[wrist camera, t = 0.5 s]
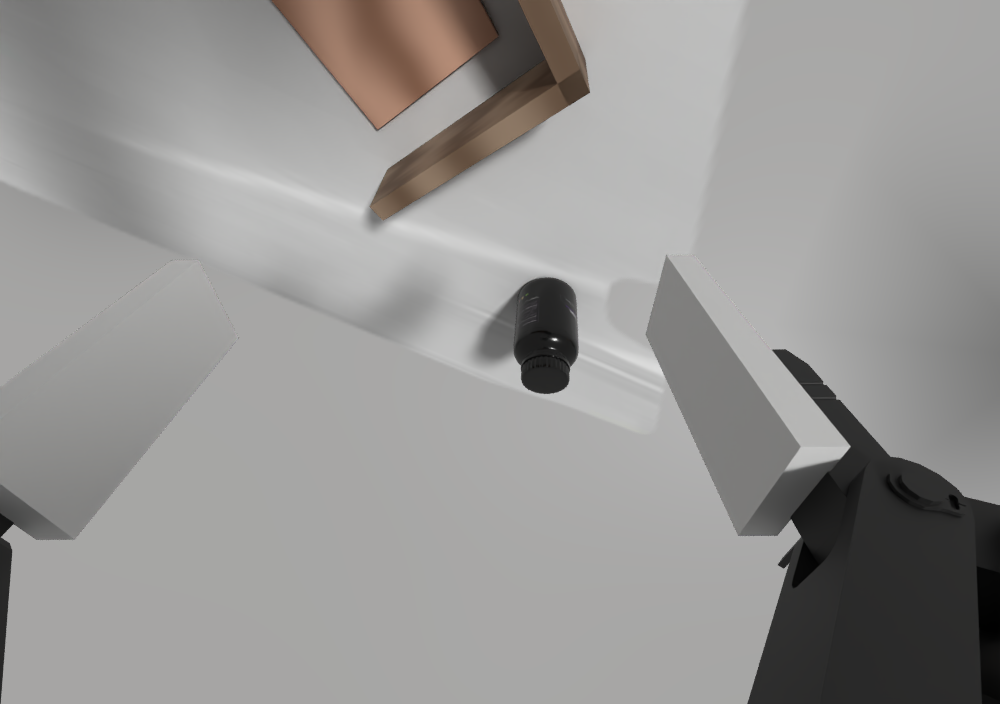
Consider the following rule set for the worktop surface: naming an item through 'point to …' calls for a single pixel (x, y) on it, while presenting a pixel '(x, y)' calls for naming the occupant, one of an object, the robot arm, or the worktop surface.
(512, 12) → the worktop surface
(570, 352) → the supplement bottle
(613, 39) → the worktop surface
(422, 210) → the worktop surface
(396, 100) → the corner arena
